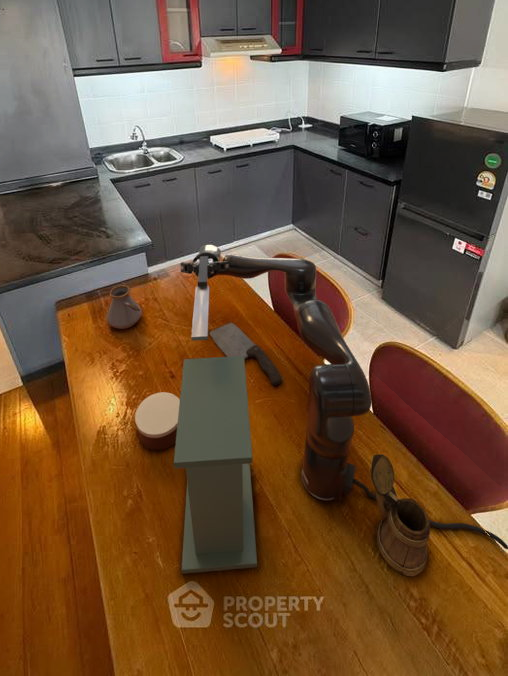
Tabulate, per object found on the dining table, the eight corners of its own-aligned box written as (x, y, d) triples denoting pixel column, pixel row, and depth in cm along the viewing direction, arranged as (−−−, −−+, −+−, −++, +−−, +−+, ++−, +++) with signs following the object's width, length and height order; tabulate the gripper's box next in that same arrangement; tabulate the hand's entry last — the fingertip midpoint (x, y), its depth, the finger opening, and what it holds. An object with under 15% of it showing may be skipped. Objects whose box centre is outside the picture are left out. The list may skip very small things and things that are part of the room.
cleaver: (289, 379, 109) (289, 374, 108) (262, 397, 104) (262, 391, 103) (230, 322, 130) (230, 317, 130) (206, 335, 125) (206, 330, 124)
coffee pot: (102, 319, 132) (95, 284, 125) (134, 305, 138) (128, 271, 132) (127, 356, 117) (120, 319, 110) (161, 339, 123) (156, 302, 117)
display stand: (189, 458, 89) (178, 359, 75) (248, 454, 90) (249, 355, 76) (182, 574, 70) (166, 470, 56) (257, 567, 71) (259, 463, 57)
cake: (192, 417, 98) (191, 401, 96) (167, 459, 89) (164, 442, 86) (156, 402, 103) (154, 386, 100) (128, 439, 93) (125, 423, 91)
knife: (198, 263, 99) (197, 256, 98) (210, 262, 99) (210, 255, 98) (191, 340, 75) (190, 332, 74) (207, 340, 75) (207, 331, 74)
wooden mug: (373, 491, 83) (386, 438, 75) (434, 549, 74) (457, 496, 66) (348, 522, 78) (360, 469, 70) (411, 589, 68) (432, 537, 61)
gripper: (181, 252, 109) (173, 255, 92) (230, 250, 110) (231, 252, 92) (182, 278, 108) (174, 286, 91) (230, 276, 109) (232, 284, 92)
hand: (203, 269), depth 92 cm, fingers closed on knife, 2 cm apart
